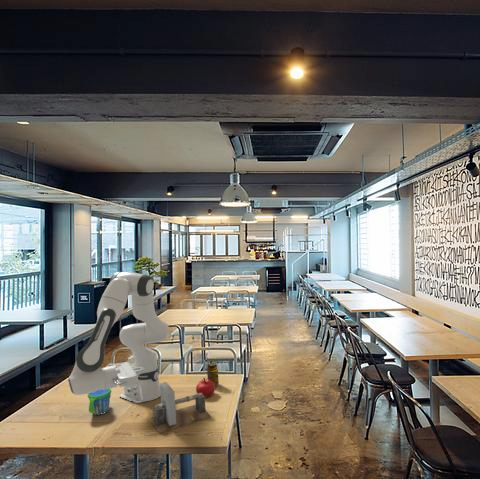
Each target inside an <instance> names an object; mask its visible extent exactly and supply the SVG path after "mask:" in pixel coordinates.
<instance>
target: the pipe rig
mask: <svg viewBox="0 0 480 479" xmlns="http://www.w3.org/2000/svg"><path fill="white" fill-rule="evenodd" d="M194 400H195V401H194ZM191 401H194V402H195V404H192V405H190V406H186V407H185V406H184V407H182V408H178V409H175V410H176V424H174V425H171V426H169V424H168V423H167V421H166V419H165V418H164V416H163V408H165V407H166V403H162V404H161V403H159V404H158V403H157V404H154V405H153V416H151V417H150V421H151V422H152V424H153V426H154V427H155V430H156V431H157V433H158V434H162V433H164V432H168V431H171V430H174V429H178V428H181V427H184V426H186V425H187V426H188V425H190V424H191V425H192V424H193V423H194V424H195V423H197V422H201V421H203V420H206V419H210V418H211V414H210V413H209V412H208V411H207V410H206V397H205V396H204V395H203V394H202V393H199V394H197V393H196V394H192V395H187V396H184V397H181V398H178V399H175V406H176V405H179V404H182V403H187V402H191Z"/></svg>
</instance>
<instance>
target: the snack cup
mask: <svg viewBox="0 0 480 479" xmlns="http://www.w3.org/2000/svg"><path fill="white" fill-rule="evenodd" d="M111 393H112V388H110V389H106V390H98V391H95V392H93V393H88V394H87V398H88V399H89V406H88V412H89V413H90V414H93V413H94V414H101V413H104V412H106V411H107V412H108V411H109V410H108V409H110V402H111V401H110V398H111V396H112V395H111ZM107 412H106V413H107ZM94 414H93V415H94Z"/></svg>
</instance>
